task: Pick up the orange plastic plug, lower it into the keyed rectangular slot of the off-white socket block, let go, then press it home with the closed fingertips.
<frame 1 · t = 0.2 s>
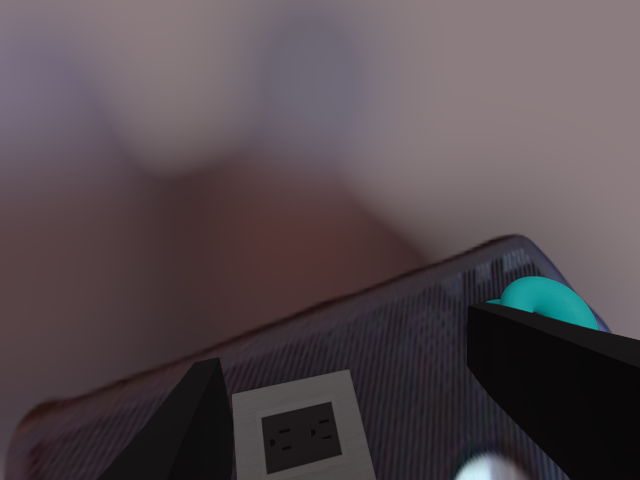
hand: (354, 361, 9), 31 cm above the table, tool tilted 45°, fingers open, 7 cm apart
electrical outlet: (300, 436, 34), on the table
donuts: (502, 340, 42), on the table
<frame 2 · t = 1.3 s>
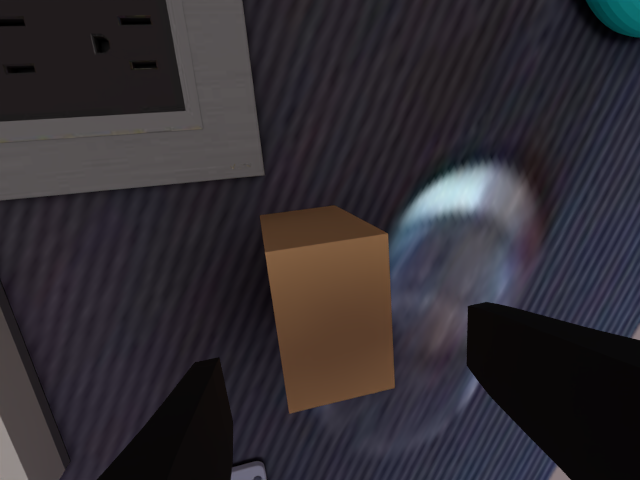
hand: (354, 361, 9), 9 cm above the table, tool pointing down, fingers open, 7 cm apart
electrical outlet: (96, 65, 14), on the table
plug: (304, 263, 17), on the table
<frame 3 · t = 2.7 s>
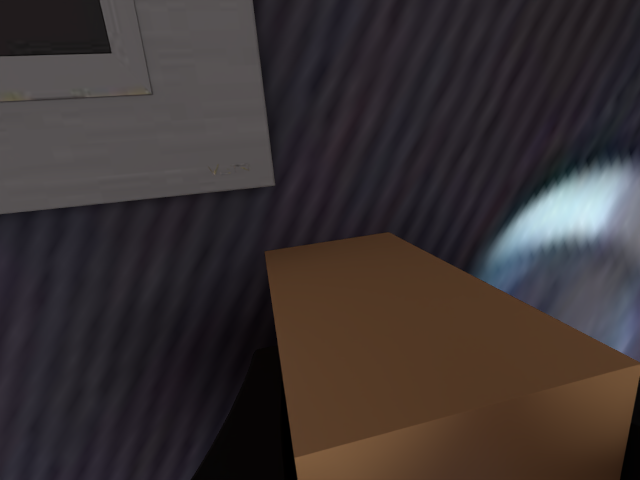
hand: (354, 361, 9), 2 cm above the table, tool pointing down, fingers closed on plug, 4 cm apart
plug: (336, 326, 11), on the table, touching gripper
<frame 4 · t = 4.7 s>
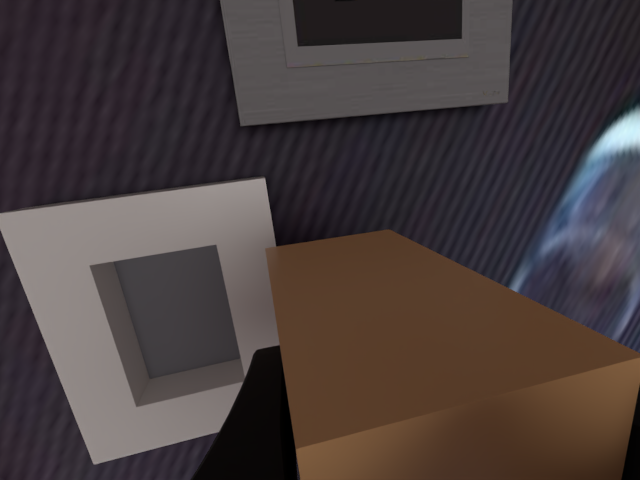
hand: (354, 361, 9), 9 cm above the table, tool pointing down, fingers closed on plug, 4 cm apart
socket block: (185, 304, 16), on the table
electrical outlet: (360, 4, 15), on the table
plug: (337, 324, 11), point 7 cm above the table, touching gripper
when the fingers open (3 cm above the table, at t = 6.6 s): plug stays where it is, resting on socket block.
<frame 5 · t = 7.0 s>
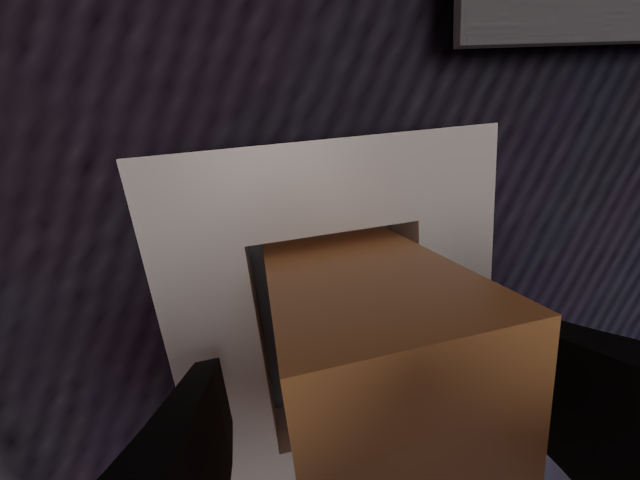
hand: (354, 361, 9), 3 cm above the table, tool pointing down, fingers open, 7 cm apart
socket block: (327, 307, 12), on the table
plug: (329, 310, 12), resting on socket block
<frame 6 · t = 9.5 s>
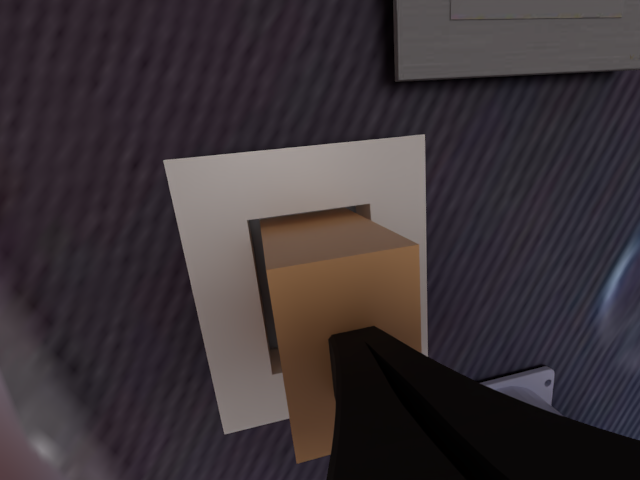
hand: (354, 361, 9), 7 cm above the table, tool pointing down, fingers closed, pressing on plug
socket block: (309, 272, 16), on the table
plug: (310, 273, 15), resting on socket block, touching gripper
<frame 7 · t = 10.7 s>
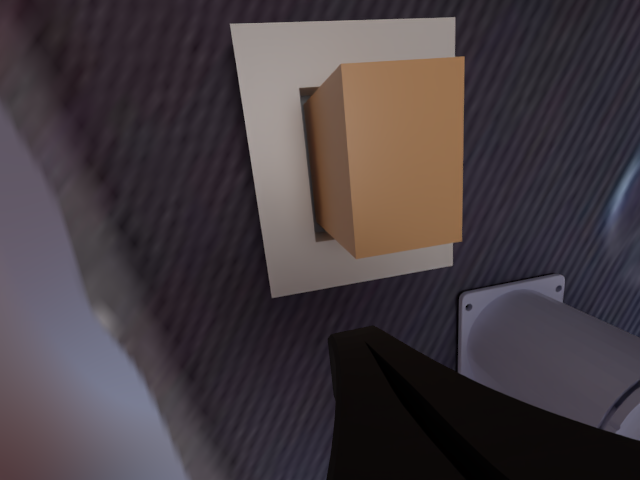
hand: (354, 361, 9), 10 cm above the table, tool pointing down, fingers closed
socket block: (344, 163, 17), on the table
plug: (346, 161, 17), resting on socket block
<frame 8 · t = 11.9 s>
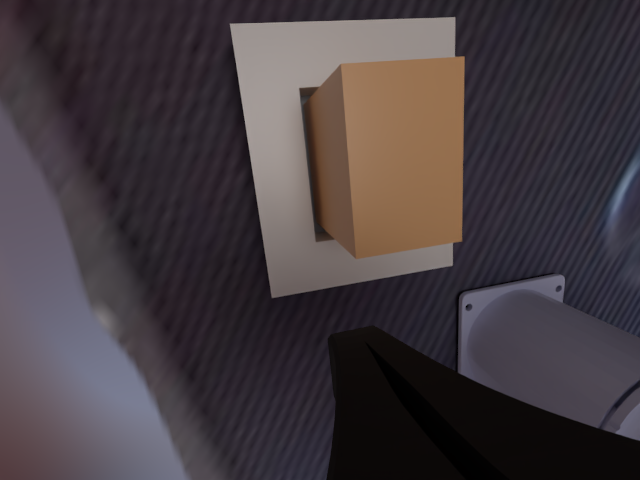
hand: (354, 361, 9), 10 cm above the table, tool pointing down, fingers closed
socket block: (344, 163, 17), on the table
plug: (346, 161, 17), resting on socket block
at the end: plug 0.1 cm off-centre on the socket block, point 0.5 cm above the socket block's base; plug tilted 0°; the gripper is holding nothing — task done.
